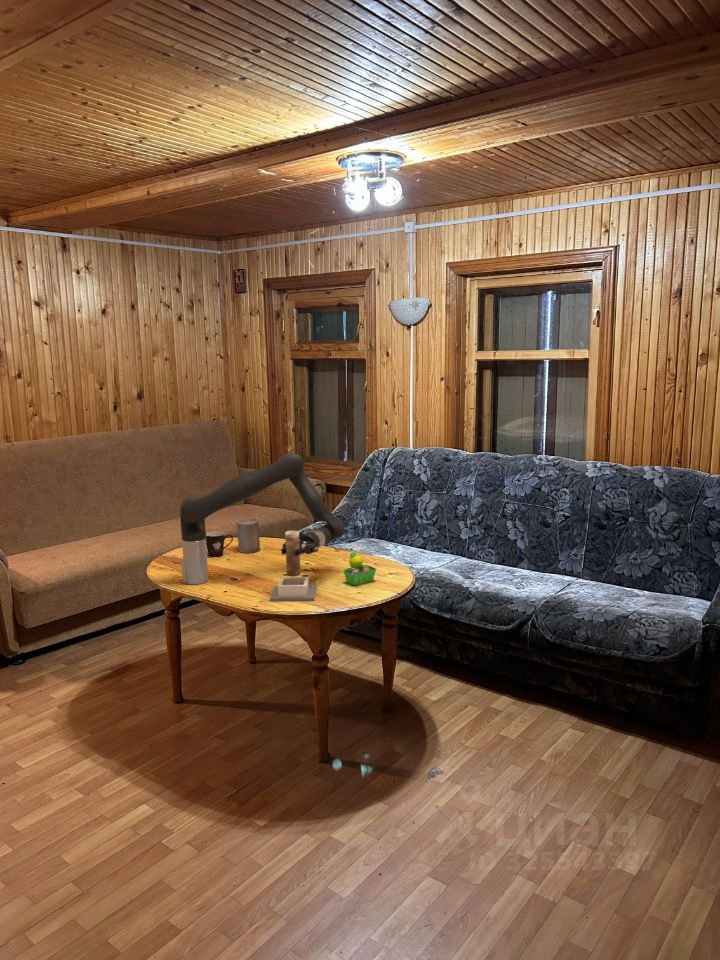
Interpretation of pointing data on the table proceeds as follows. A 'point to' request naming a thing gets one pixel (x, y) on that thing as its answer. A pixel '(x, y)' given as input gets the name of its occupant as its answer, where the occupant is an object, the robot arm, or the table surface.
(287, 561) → the walnut post
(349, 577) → the fruit basket
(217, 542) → the coffee mug
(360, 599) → the table surface
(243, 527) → the pillar candle
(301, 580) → the post well
